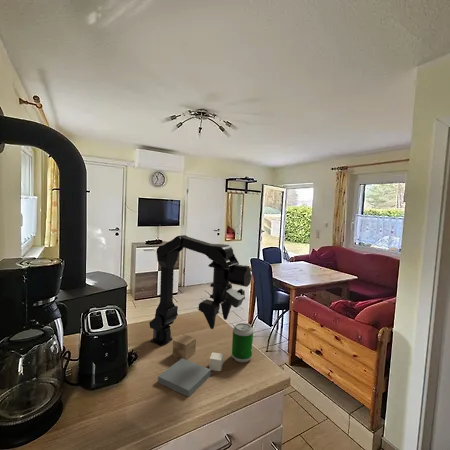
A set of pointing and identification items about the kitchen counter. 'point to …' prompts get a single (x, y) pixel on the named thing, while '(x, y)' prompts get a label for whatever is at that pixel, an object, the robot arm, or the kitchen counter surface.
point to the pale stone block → (216, 361)
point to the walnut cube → (184, 347)
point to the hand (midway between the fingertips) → (218, 323)
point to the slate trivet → (184, 376)
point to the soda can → (242, 342)
